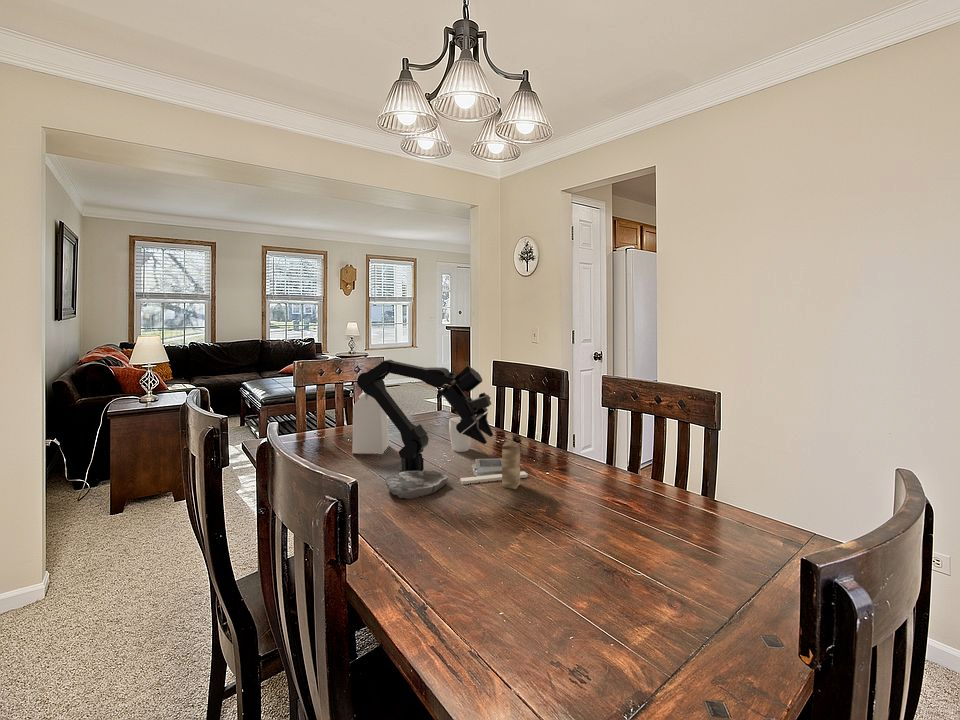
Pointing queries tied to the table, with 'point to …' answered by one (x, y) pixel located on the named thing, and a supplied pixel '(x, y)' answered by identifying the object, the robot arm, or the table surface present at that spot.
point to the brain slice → (415, 483)
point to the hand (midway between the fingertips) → (489, 439)
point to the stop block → (511, 465)
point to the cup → (458, 436)
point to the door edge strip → (487, 478)
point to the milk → (369, 426)
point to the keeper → (487, 467)
